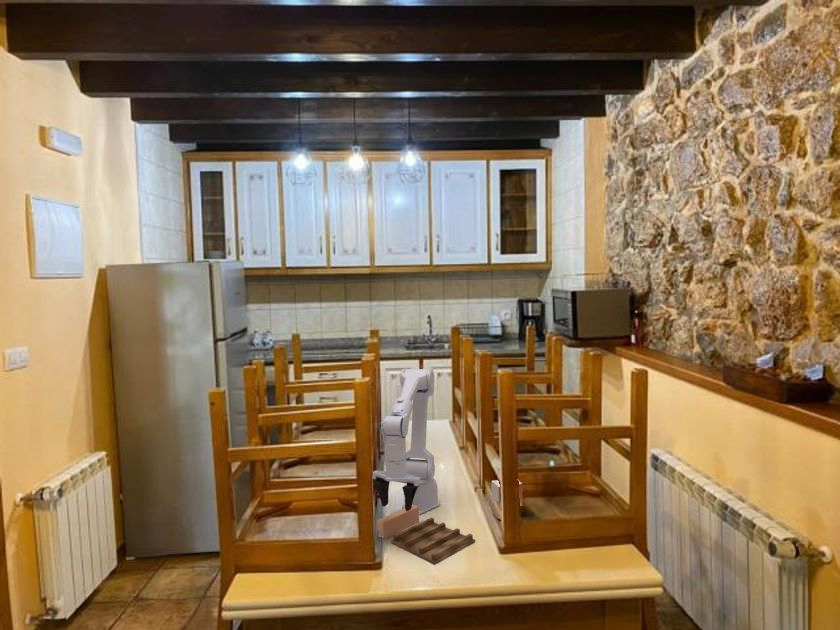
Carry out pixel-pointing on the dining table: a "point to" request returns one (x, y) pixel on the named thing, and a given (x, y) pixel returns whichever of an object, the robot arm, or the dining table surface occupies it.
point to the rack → (432, 541)
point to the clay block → (398, 521)
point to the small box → (496, 491)
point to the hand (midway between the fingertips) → (396, 507)
